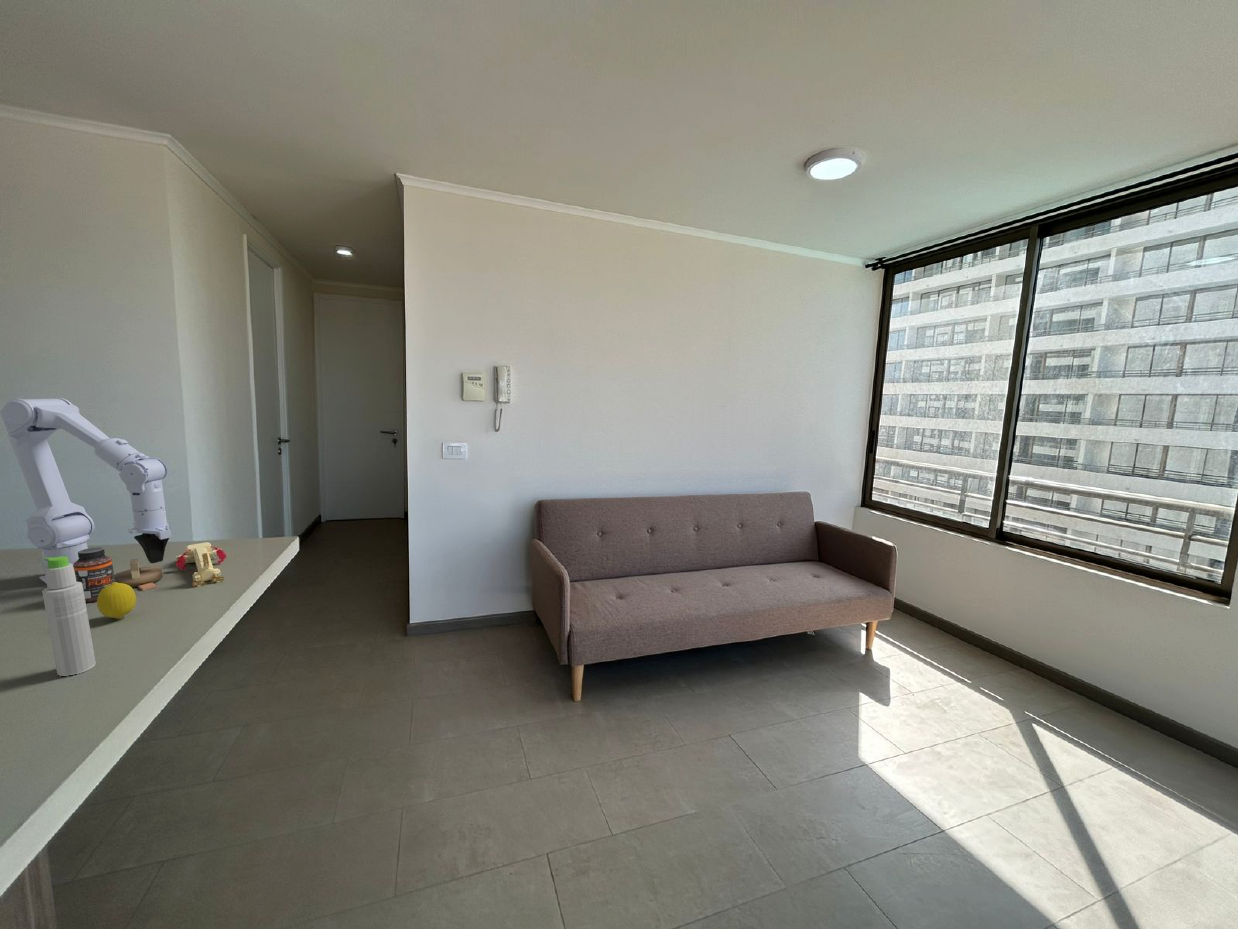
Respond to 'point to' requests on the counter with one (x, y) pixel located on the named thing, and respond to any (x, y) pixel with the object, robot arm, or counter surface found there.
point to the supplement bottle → (93, 572)
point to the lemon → (116, 600)
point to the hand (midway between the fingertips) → (156, 561)
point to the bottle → (67, 618)
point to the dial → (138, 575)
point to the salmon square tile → (147, 586)
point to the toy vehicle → (202, 562)
